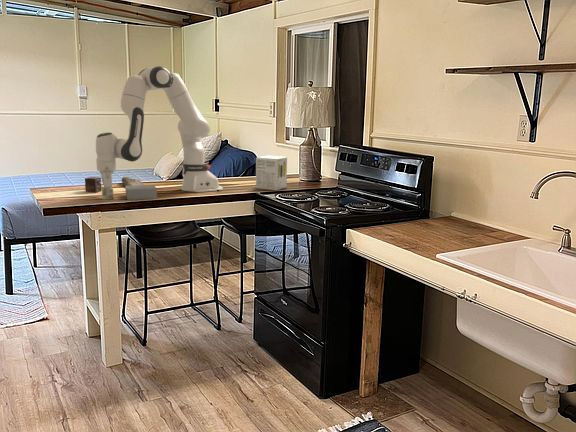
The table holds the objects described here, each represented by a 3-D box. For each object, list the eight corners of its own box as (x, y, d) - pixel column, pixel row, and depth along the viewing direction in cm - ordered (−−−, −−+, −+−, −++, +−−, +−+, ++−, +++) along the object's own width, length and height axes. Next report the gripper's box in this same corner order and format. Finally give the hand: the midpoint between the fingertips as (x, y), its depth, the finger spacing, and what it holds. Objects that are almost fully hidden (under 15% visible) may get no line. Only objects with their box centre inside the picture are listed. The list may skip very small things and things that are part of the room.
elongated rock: (132, 195, 293) (151, 195, 298) (132, 185, 292) (151, 185, 297) (118, 182, 323) (135, 182, 328) (118, 173, 322) (135, 173, 327)
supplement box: (276, 190, 308) (276, 158, 305) (255, 188, 314) (255, 157, 311) (287, 187, 320) (287, 156, 316) (266, 185, 326) (267, 155, 322)
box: (95, 193, 290) (95, 178, 289) (85, 192, 291) (84, 178, 290) (101, 191, 296) (101, 177, 294) (91, 190, 297) (90, 176, 296)
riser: (153, 194, 289) (153, 184, 288) (157, 198, 278) (156, 188, 277) (125, 195, 284) (125, 185, 283) (127, 199, 273) (127, 189, 272)
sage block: (112, 197, 279) (112, 187, 278) (113, 199, 274) (113, 189, 273) (102, 197, 277) (101, 187, 276) (102, 199, 272) (102, 189, 271)
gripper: (114, 169, 264) (115, 197, 267) (111, 163, 283) (113, 191, 285) (100, 169, 262) (101, 198, 265) (98, 164, 280) (100, 191, 283)
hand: (107, 194), depth 275 cm, fingers closed on sage block, 5 cm apart
